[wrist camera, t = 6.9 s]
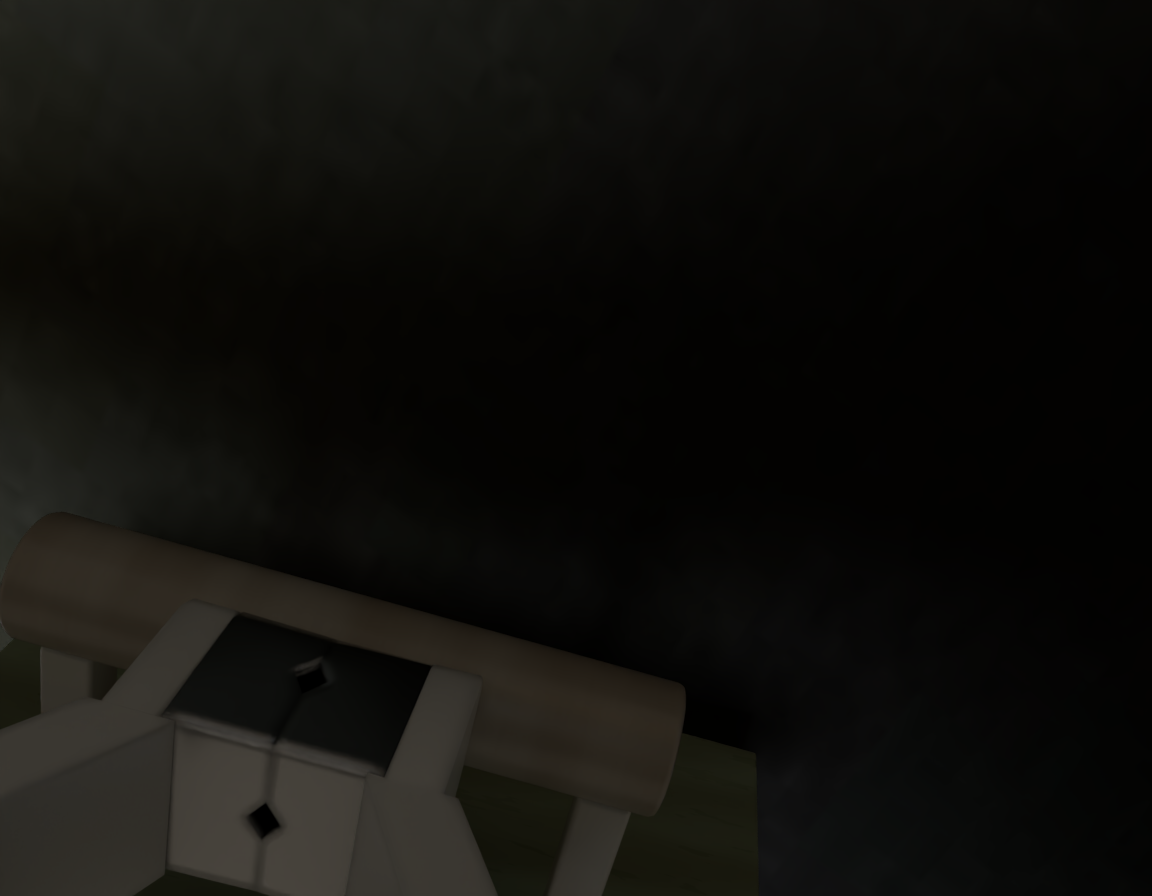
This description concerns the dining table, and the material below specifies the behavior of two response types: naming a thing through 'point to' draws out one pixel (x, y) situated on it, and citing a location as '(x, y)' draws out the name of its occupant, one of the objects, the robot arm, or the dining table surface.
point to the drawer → (507, 664)
